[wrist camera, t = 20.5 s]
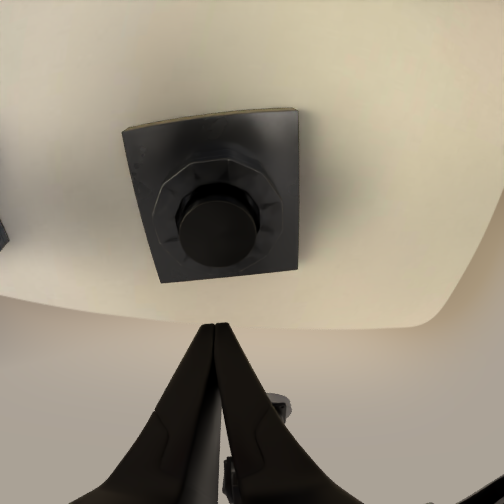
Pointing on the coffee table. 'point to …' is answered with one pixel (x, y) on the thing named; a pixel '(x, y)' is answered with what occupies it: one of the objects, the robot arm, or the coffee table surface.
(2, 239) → the blue-grey shallow square tray
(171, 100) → the coffee table surface
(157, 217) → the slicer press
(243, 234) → the plunger
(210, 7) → the coffee table surface
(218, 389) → the robot arm
